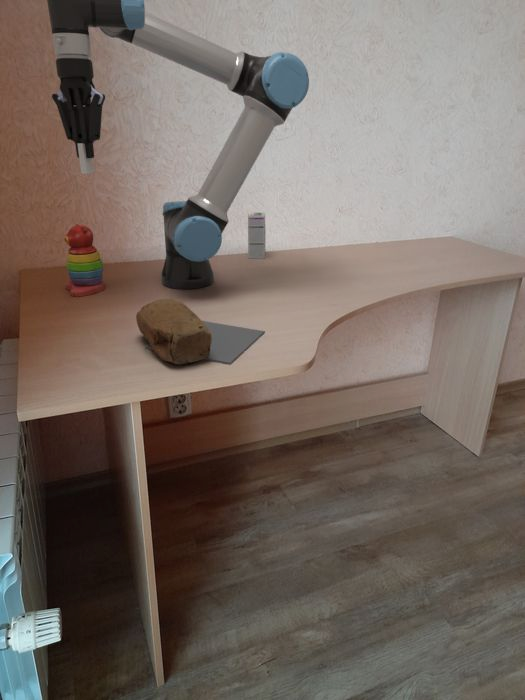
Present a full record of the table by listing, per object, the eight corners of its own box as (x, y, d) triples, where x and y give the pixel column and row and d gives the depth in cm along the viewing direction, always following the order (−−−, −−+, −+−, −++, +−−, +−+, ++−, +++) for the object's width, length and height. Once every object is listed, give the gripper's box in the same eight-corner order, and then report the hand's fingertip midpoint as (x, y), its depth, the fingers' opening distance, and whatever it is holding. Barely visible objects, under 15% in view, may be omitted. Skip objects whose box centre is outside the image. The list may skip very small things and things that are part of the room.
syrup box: (265, 258, 180) (265, 215, 174) (247, 258, 180) (247, 215, 174) (265, 254, 185) (265, 212, 179) (248, 254, 185) (248, 212, 179)
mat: (187, 319, 128) (187, 318, 127) (264, 332, 121) (264, 331, 120) (145, 348, 112) (145, 346, 112) (230, 364, 106) (230, 362, 105)
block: (180, 295, 119) (215, 327, 103) (181, 326, 122) (215, 362, 107) (132, 301, 114) (161, 336, 99) (134, 333, 118) (163, 372, 102)
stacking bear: (64, 287, 150) (54, 223, 143) (100, 282, 155) (92, 220, 147) (72, 298, 142) (62, 231, 134) (110, 292, 146) (102, 227, 139)
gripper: (37, 57, 113) (54, 173, 123) (86, 55, 109) (100, 176, 118) (61, 60, 119) (76, 170, 129) (109, 58, 115) (120, 172, 125)
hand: (87, 172), depth 124 cm, fingers closed
